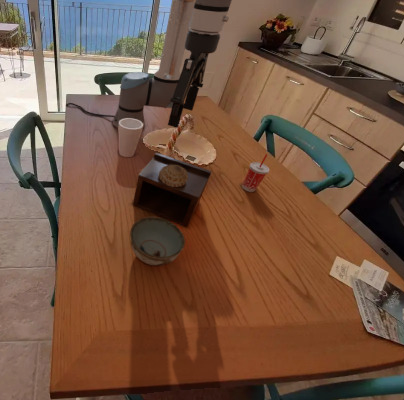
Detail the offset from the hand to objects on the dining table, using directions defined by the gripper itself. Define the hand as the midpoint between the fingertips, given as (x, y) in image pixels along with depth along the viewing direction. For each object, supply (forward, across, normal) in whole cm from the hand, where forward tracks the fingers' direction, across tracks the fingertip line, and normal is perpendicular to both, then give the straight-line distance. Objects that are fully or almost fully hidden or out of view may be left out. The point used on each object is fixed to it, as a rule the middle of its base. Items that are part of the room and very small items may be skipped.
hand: (180, 117), depth 77 cm
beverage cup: (+26, +18, -27) cm, 42 cm away
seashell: (+14, -10, -4) cm, 18 cm away
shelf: (+26, -8, -5) cm, 27 cm away
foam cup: (+27, +13, +20) cm, 36 cm away
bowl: (+26, -30, -9) cm, 40 cm away
